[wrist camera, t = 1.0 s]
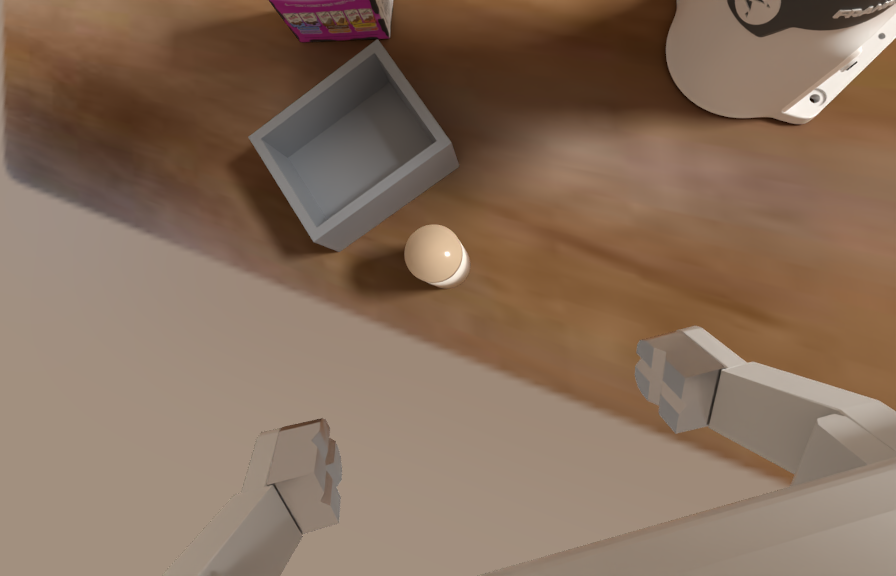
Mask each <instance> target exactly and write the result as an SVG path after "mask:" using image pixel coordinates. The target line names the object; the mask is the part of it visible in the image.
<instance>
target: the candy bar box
mask: <svg viewBox="0 0 896 576" xmlns="http://www.w3.org/2000/svg"><path fill="white" fill-rule="evenodd" d="M269 2H270V3H271V4H272V6H273V7H274V8H275V10H276V11H277V12H278V13H279V15H280V16H281V17H282V19H283V20H284V22H285V23H286V24H287V25H288V27H289V28H290V29H291V31H292V32H293V33H294V35H295V36H296V37H297V39H298V40H299V41H300V42H322V41H341V40H363V39H389V38H390V34H391V20H392V12H393V0H269Z"/></svg>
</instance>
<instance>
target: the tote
mask: <svg viewBox="0 0 896 576" xmlns="http://www.w3.org/2000/svg"><path fill="white" fill-rule="evenodd" d="M249 139H250V141H251V142H252V144H253V146H254V147H255V149H256V150H257V152H258V154H259V155H260V157H261V158H262V160H263V162H264V163H265V165H266V166H267V168H268V170H269V171H270V173H271V174H272V176H273V178H274V179H275V181H276V182H277V184H278V186H279V187H280V189H281V191H282V192H283V194H284V195H285V197H286V199H287V200H288V202H289V203H290V205H291V207H292V208H293V210H294V211H295V213H296V215H297V216H298V218H299V219H300V221H301V223H302V224H303V226H304V228H305V229H306V231H307V232H308V234H309V236H310V237H311V239H312V240H313V242H315V243H317V244H320V245H322V246H325V247H328V248H330V249H333V250H335V251H338V252H340V251H341V250H343V249H344V248H346V247H347V246H348V245H350V244H351V243H353V242H354V241H355V240H357V239H358V238H360V237H361V236H362V235H364V234H365V233H367V232H368V231H370V230H371V229H372V228H374V227H375V226H377V225H378V224H379V223H381V222H382V221H384V220H385V219H386V218H388V217H389V216H391V215H392V214H393V213H395V212H396V211H398V210H399V209H400V208H402V207H403V206H405V205H406V204H407V203H409V202H410V201H412V200H413V199H414V198H416V197H417V196H419V195H420V194H421V193H423V192H424V191H426V190H427V189H428V188H430V187H431V186H433V185H434V184H436V183H437V182H438V181H440V180H441V179H443V178H444V177H445V176H447V175H448V174H450V173H451V172H452V171H454V170H455V169H457V168H458V167H459V163H458V160H457V157H456V154H455V151H454V148H453V145H452V143H451V141H450V140H449V138H448V137H447V136H446V134H445V133H444V131H443V130H442V129H441V127H440V126H439V124H438V123H437V121H436V120H435V119H434V117H433V116H432V114H431V113H430V112H429V110H428V109H427V107H426V106H425V105H424V103H423V102H422V100H421V99H420V98H419V96H418V95H417V93H416V92H415V91H414V89H413V88H412V86H411V85H410V84H409V82H408V81H407V79H406V78H405V77H404V75H403V74H402V72H401V71H400V69H399V68H398V67H397V65H396V64H395V62H394V61H393V60H392V58H391V57H390V55H389V54H388V53H387V51H386V50H385V48H384V47H383V46H382V44H381V43H380V41H379V40H378V39H377V40H375V41H374V42H373V43H371V44H370V45H369V46H367V47H366V48H365V49H364V50H362V51H361V52H360V53H358V54H357V55H356V56H354V57H353V58H352V59H350V60H349V61H348V62H346V63H345V64H344V65H342V66H341V67H340V68H338V69H337V70H336V71H335V72H333V73H332V74H331V75H329V76H328V77H327V78H325V79H324V80H323V81H321V82H320V83H319V84H317V85H316V86H315V87H313V88H312V89H311V90H309V91H308V92H307V93H306V94H304V95H303V96H302V97H300V98H299V99H298V100H296V101H295V102H294V103H292V104H291V105H290V106H288V107H287V108H286V109H284V110H283V111H282V112H280V113H279V114H278V115H277V116H275V117H274V118H273V119H271V120H270V121H269V122H267V123H266V124H265V125H263V126H262V127H261V128H259V129H258V130H257V131H255V132H254V133H253V134H251V135H250V136H249Z"/></svg>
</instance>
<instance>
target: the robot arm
mask: <svg viewBox="0 0 896 576" xmlns="http://www.w3.org/2000/svg"><path fill="white" fill-rule="evenodd" d="M895 38H896V0H677V11H676V14H675V17H674V20H673V22H672V24H671V27H670V30H669V33H668V37H667V42H666V59H667V64H668V68H669V71H670V74H671V76H672V78H673V80H674V82H675V84H676V85H677V87H678V88H679V89H680V90H681V92H682V93H683V94H684V95H685V96H686V97H687V98H688V99H690V100H691V101H692V102H693V103H695V104H696V105H698V106H699V107H701V108H703V109H705V110H707V111H710V112H712V113H715V114H718V115H722V116H726V117H733V118H756V117H772V118H775V119H778V120H781V121H785V122H788V123H793V124H805V123H807V122H809V121H810V120H812V119H813V118H814V117H815V116H816V115H817V114H818V113H819V112H820V111H821V110H822V109H823V108H825V107H826V106H827V105H828V104H829V103H830V102H831V101H832V100H833V99H834V98H835V97H836V96H837V95H838V94H839V93H840V92H841V91H842V90H843V89H844V88H845V87H846V86H847V85H848V84H849V83H850V82H851V81H852V80H853V79H854V78H855V77H856V76H857V75H858V74H859V73H860V72H861V71H862V70H863V69H864V68H865V67H866V66H867V65H868V64H869V63H870V62H872V61H873V60H874V59H875V58H876V57H877V56H878V55H879V54H880V53H881V52H882V51H883V50H884V49H885V48H886V47H887V46H888V45H889V44H890V43H891V42H892V41H893V40H894V39H895ZM810 98H812V99H813V100H814V103H812V102H811V101H810ZM637 354H638V355H639V356H640V357H641V359H640V360H639V362H638V363H637V364H636V366H635V378H636V382H637V385H638V387H639V389H640V391H641V393H642V394H643V396H644V397H645V398H646V399H647V400H648V401H649V402H652V403H654V404H656V405H658V406H659V415H660V416H661V417H662V418H663V419H664V421H665V422H666V423H667V424H668V425H669V426H670V428H671V429H672V430H673V431H674V432H675V433H681V432H685V431H689V430H693V429H698V428H702V427H706V426H709V428H710V429H712V430H714V431H716V432H717V433H719V434H721V435H723V436H725V437H727V438H729V439H730V440H732V441H734V442H736V443H738V444H740V445H741V446H743V447H745V448H747V449H749V450H751V451H752V452H754V453H756V454H758V455H760V456H762V457H764V458H765V459H767V460H769V461H771V462H773V463H775V464H776V465H778V466H780V467H782V468H784V469H786V470H787V471H789V472H791V473H793V474H795V475H794V478H793V480H792V483H791V485H790V487H787V488H784V489H780V490H777V491H774V492H770V493H766V494H763V495H760V496H756V497H752V498H749V499H745V500H742V501H738V502H735V503H731V504H728V505H724V506H721V507H717V508H713V509H710V510H706V511H703V512H699V513H696V514H693V515H689V516H686V517H682V518H679V519H675V520H671V521H668V522H664V523H661V524H657V525H654V526H650V527H647V528H643V529H640V530H636V531H633V532H629V533H625V534H622V535H619V536H615V537H611V538H608V539H604V540H601V541H597V542H594V543H590V544H587V545H583V546H580V547H576V548H573V549H569V550H566V551H562V552H559V553H555V554H552V555H548V556H545V557H541V558H538V559H534V560H531V561H527V562H524V563H520V564H517V565H513V566H509V567H506V568H503V569H499V570H496V571H492V572H488V573H485V574H481V575H478V576H896V411H894V410H893V409H891V408H890V407H888V406H887V405H885V404H883V403H882V402H880V401H879V400H876V399H872V398H869V397H866V396H863V395H859V394H856V393H853V392H850V391H846V390H843V389H840V388H837V387H833V386H830V385H827V384H824V383H821V382H817V381H814V380H811V379H808V378H804V377H801V376H798V375H795V374H791V373H788V372H785V371H782V370H778V369H775V368H772V367H769V366H765V365H762V364H759V363H756V362H750V363H747V362H745V361H744V360H743V359H742V358H740V357H739V356H738V355H736V354H735V353H734V352H732V351H731V350H730V349H729V348H727V347H726V346H725V345H723V344H722V343H721V342H719V341H718V340H717V339H716V338H714V337H713V336H712V335H710V334H709V333H708V332H707V331H705V330H704V329H703V328H701V327H698V326H692V327H688V328H684V329H681V330H677V331H674V332H670V333H666V334H662V335H658V336H654V337H650V338H646V339H642V340H640V341H639V343H638V345H637ZM329 436H330V427H329V425H328V423H327V421H326V419H323V418H321V419H317V420H312V421H308V422H303V423H299V424H295V425H290V426H285V427H282V428H279V429H275V430H269V431H265V432H261V433H260V435H259V436H258V437H257V440H256V443H255V447H254V450H253V454H252V457H251V460H250V464H249V467H248V471H247V474H246V477H245V481H244V484H243V487H242V491H241V493H238V494H235V495H234V496H233V497H232V498H231V499H230V500H229V501H228V502H227V503H226V504H225V506H224V507H223V508H222V509H221V510H220V511H219V512H218V513H217V515H216V516H215V517H214V518H213V519H212V520H211V521H210V522H209V523H208V525H207V526H206V527H205V528H204V529H203V530H202V531H201V532H200V533H199V535H198V536H197V537H196V538H195V539H194V540H193V541H192V542H191V543H190V545H189V546H188V547H187V548H186V549H185V550H184V551H183V552H182V553H181V555H180V556H179V557H178V558H177V559H176V560H175V561H174V563H172V565H171V566H170V567H169V568H168V569H167V570H166V571H165V572H164V574H163V575H162V576H280V575H281V573H282V572H283V570H284V568H285V566H286V565H287V563H288V561H289V559H290V558H291V556H292V554H293V553H294V551H295V549H296V547H297V546H298V544H299V542H300V540H301V538H302V537H303V536H302V534H305V533H308V532H311V531H315V530H318V529H321V528H325V527H328V526H332V525H335V524H338V523H339V514H340V499H341V498H340V495H339V492H338V490H337V488H336V487H337V486H338V484H339V483H340V481H341V480H342V465H341V456H340V453H339V449H338V446H337V444H336V441H334V440H332V439H331V438H329Z"/></svg>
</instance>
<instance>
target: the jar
mask: <svg viewBox="0 0 896 576" xmlns="http://www.w3.org/2000/svg"><path fill="white" fill-rule="evenodd" d="M404 256H405V262H406V265H407V267H408V269H409V270H410V272H411V273H412V274H413V275H414V276H416V277H417V278H419V279H420V280H423V281H425V282H427V283H430V284H432V285H434V286H437V287H439V288H444V289H449V288H454V287H456V286H458V285H460V284H461V283H463V282H464V280H465V279H466V278H467V276H468V274H469V271H470V258H469V255H468V253H467V252H466V250H465V249H464V247H463V245H462V244H461V242H460V241H459V239H458V238H457V236H456V235H455V234H454V233H453V232H452V231H451V230H450V229H448V228H446V227H444V226H441V225H427V226H423V227H421V228H419V229H418V230H416V231H415V232H414V233H413V234H412V235H411V236H410V238H409V239H408V241H407V243H406V246H405V252H404Z"/></svg>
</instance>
